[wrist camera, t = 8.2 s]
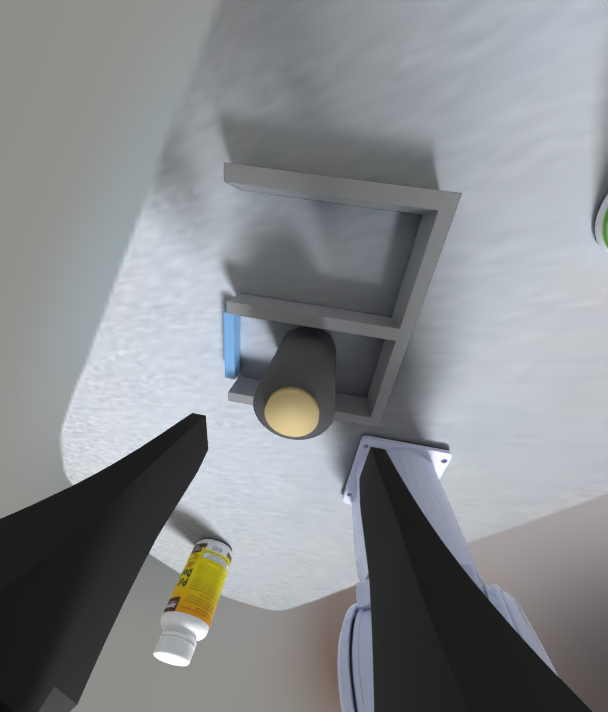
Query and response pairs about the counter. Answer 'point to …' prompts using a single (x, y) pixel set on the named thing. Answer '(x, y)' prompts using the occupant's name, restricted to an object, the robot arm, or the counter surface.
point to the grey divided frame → (393, 329)
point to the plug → (299, 386)
